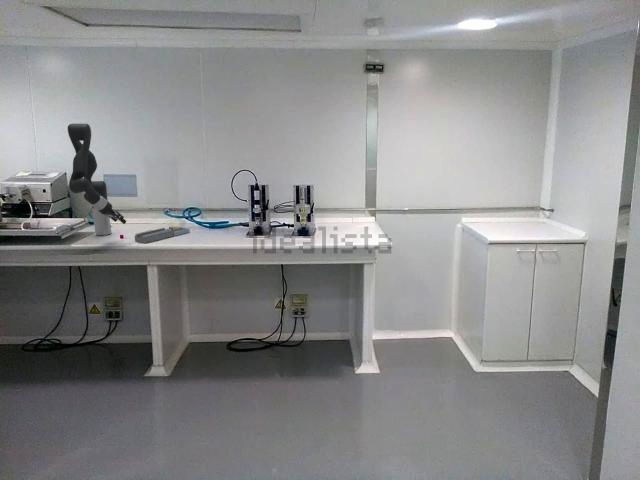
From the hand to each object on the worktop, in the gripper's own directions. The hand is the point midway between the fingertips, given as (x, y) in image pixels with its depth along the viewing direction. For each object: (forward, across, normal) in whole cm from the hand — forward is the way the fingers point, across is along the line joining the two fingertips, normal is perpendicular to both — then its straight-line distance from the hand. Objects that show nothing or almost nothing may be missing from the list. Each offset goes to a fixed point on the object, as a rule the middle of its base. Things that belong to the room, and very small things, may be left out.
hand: (120, 221), depth 287 cm
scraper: (+15, -1, 0) cm, 15 cm away
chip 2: (+27, -11, -18) cm, 34 cm away
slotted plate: (+18, -12, -2) cm, 21 cm away
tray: (+29, -11, -14) cm, 34 cm away
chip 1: (+24, -12, -13) cm, 30 cm away
